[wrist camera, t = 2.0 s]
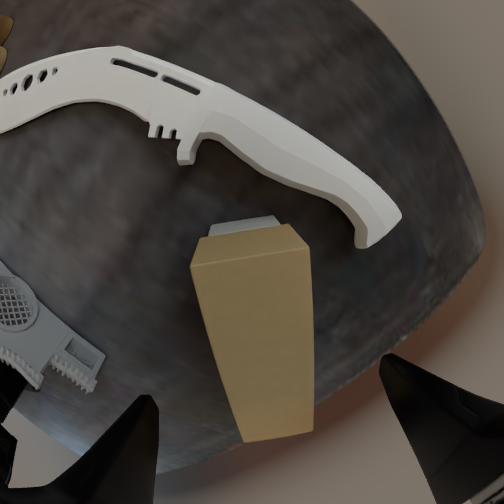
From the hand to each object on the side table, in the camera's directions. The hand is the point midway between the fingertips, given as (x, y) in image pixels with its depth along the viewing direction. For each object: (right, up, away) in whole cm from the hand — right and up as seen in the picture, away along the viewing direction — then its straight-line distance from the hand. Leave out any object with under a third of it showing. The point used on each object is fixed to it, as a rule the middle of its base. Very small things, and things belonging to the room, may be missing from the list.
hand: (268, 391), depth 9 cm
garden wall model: (-15, +2, +5) cm, 15 cm away
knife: (-8, +11, +2) cm, 14 cm away
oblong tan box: (0, +2, +5) cm, 6 cm away
